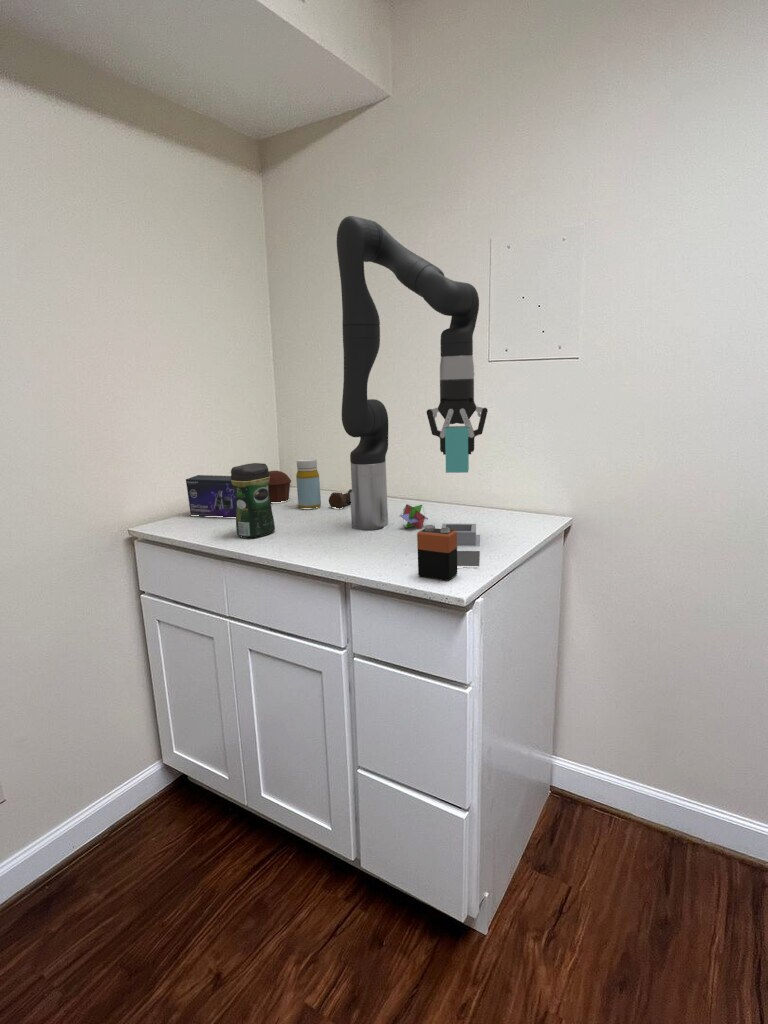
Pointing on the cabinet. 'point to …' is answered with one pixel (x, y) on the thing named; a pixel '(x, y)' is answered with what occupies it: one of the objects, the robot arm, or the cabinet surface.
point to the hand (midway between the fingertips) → (457, 453)
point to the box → (211, 496)
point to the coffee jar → (252, 500)
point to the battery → (437, 552)
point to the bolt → (339, 499)
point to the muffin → (279, 486)
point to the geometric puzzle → (413, 516)
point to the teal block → (456, 449)
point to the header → (465, 534)
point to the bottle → (308, 483)
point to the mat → (468, 558)
